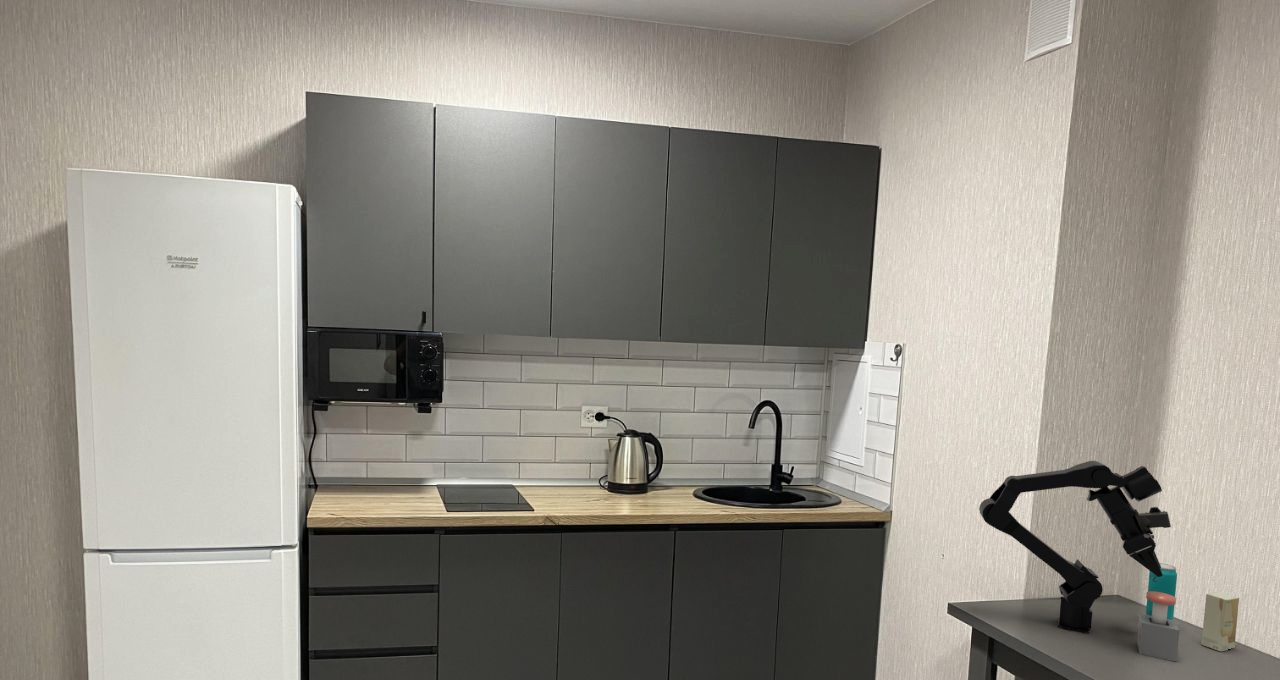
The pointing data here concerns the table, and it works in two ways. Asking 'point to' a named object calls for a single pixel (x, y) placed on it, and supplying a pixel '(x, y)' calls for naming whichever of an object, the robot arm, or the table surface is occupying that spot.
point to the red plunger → (1160, 605)
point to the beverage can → (1163, 587)
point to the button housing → (1158, 638)
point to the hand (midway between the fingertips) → (1159, 572)
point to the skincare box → (1220, 621)
